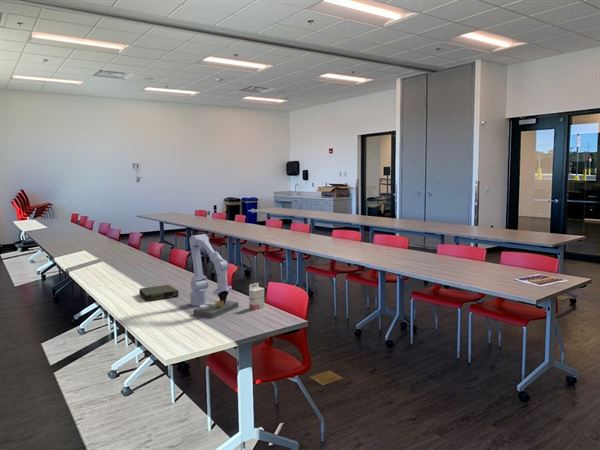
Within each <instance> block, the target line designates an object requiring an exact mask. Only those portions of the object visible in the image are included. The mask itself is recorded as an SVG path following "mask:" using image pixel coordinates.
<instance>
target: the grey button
mask: <svg viewBox="0 0 600 450" xmlns="http://www.w3.org/2000/svg"><path fill="white" fill-rule="evenodd" d="M198 308H200V309H202V310H206V309H209V306H208V305H203V306H198Z"/></svg>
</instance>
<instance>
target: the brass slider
mask: <svg viewBox="0 0 600 450" xmlns="http://www.w3.org/2000/svg"><path fill="white" fill-rule="evenodd" d="M217 300H218V301H216V300H215V301H216V307H220V308H221V307H223V306H224V300H219V299H217Z"/></svg>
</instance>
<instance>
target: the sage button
mask: <svg viewBox="0 0 600 450" xmlns="http://www.w3.org/2000/svg"><path fill="white" fill-rule="evenodd" d="M208 306H211V307H214V306H216V303H215V301H211V302H208Z"/></svg>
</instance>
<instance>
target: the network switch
mask: <svg viewBox="0 0 600 450" xmlns="http://www.w3.org/2000/svg"><path fill="white" fill-rule="evenodd" d="M139 296H141V297H142V299H143V300H144V301H146V302H147V301H148V302H150V301H155V300H163V299H164V300H165V299H169V298H172V297H174V298H175V297H179V290H178V289H176V288H175V287H173V286H171V285H170V284H164V285H156V286H148V287H141V288H139Z"/></svg>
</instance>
